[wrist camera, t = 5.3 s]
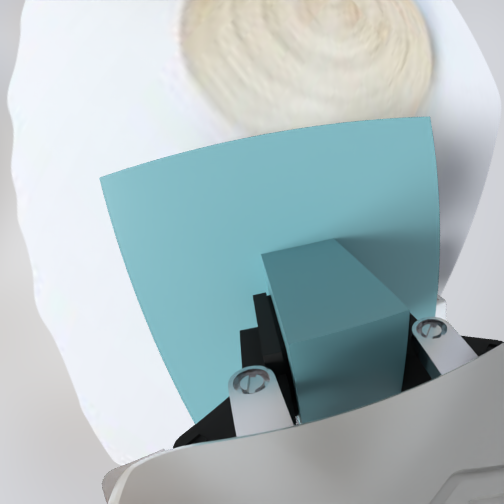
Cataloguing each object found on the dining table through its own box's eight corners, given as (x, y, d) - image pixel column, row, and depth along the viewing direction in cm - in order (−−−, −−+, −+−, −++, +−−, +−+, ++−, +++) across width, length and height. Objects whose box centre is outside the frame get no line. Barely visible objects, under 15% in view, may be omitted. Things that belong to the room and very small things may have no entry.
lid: (409, 347, 18) (477, 435, 10) (199, 399, 18) (192, 517, 10) (402, 119, 13) (535, 114, 5) (119, 172, 13) (2, 207, 5)
